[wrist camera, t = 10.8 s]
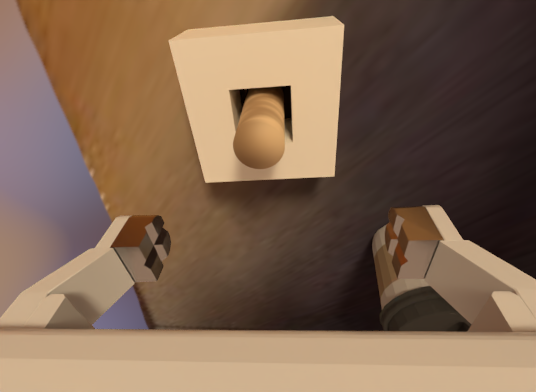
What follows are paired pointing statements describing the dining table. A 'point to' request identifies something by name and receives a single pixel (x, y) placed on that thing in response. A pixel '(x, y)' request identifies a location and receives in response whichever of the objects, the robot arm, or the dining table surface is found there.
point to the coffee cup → (410, 299)
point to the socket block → (257, 76)
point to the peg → (261, 128)
